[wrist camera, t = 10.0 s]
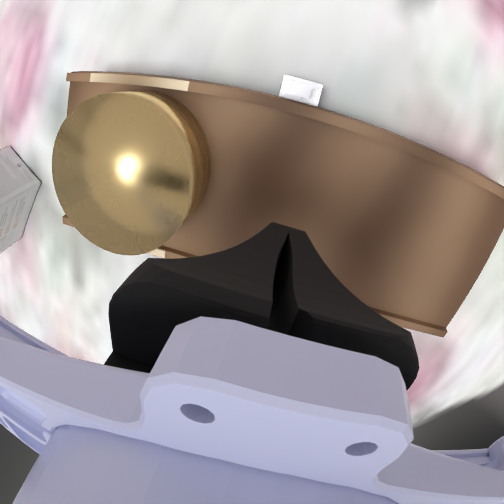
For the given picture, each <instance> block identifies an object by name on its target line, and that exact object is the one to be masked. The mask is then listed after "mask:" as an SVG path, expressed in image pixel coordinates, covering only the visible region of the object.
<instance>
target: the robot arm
mask: <svg viewBox="0 0 504 504" xmlns="http://www.w3.org/2000/svg"><path fill="white" fill-rule="evenodd" d="M109 323H110V332H111V340H112V348H113V352H112V353H111V355H110V356H109V358H108V359H107V361H106V362H105V364H104V365H102V364H98V363H93V362H89V361H85V360H80V359H76V358H72V357H69V356H67V355H65V354H63V353H61V352H60V351H58V350H56V349H54V348H52V347H51V346H49V345H47V344H45V343H43V342H42V341H40V340H38V339H37V338H35V337H33V336H32V335H30V334H28V333H27V332H25V331H23V330H22V329H20V328H18V327H17V326H15V325H14V324H12V323H11V322H9V321H8V320H6V319H5V318H3V317H2V316H0V423H1V424H2V425H3V426H4V427H5V428H7V429H8V430H9V431H10V432H11V433H13V434H14V435H15V436H16V437H17V438H19V439H20V440H21V441H23V442H24V443H25V444H27V445H28V446H29V447H30V448H32V449H33V450H34V451H36V452H37V453H39V454H40V456H39V457H38V459H37V461H36V462H35V464H34V466H33V468H32V469H31V471H30V473H29V475H28V477H27V478H26V480H25V482H24V484H23V485H22V487H21V489H20V491H19V493H18V495H17V496H16V498H15V500H14V502H13V504H504V436H503V437H501V438H500V439H498V440H497V441H496V442H494V443H493V444H492V445H491V446H490V447H489V448H488V449H475V450H446V451H445V450H443V451H442V450H440V451H438V450H435V451H433V450H428V449H425V448H422V447H419V446H416V445H414V444H411V442H412V440H413V438H414V437H413V429H412V422H411V415H410V409H409V403H408V397H407V390H408V389H409V388H410V386H411V385H412V383H413V382H414V380H415V379H416V377H417V373H418V370H419V362H418V356H417V352H416V349H415V345H414V342H413V338H412V335H411V332H409V331H407V330H405V329H403V328H402V327H400V326H398V325H396V324H395V323H393V322H391V321H389V320H387V319H386V318H384V317H383V316H381V315H380V314H378V313H377V312H375V311H374V310H372V309H371V308H370V307H368V306H367V305H366V304H364V303H363V302H362V301H361V300H359V299H358V298H357V297H356V296H355V295H354V294H352V293H351V292H350V291H349V290H348V289H347V288H346V287H345V286H344V285H343V284H342V283H341V282H340V281H339V280H338V279H337V278H336V277H335V275H334V274H333V273H332V272H331V271H330V269H329V268H328V267H327V265H326V264H325V263H324V261H323V260H322V258H321V257H320V255H319V254H318V252H317V251H316V249H315V247H314V246H313V244H312V242H311V241H310V239H309V237H308V235H307V234H306V232H305V231H302V230H299V229H295V228H292V227H288V226H285V225H282V224H278V223H275V222H272V223H270V224H268V225H267V226H266V227H265V228H264V229H263V230H261V231H260V232H259V233H257V234H256V235H254V236H253V237H251V238H250V239H248V240H246V241H244V242H242V243H241V244H239V245H237V246H235V247H232V248H229V249H227V250H224V251H220V252H216V253H212V254H208V255H204V256H197V257H189V258H175V259H168V258H148V259H147V260H145V261H144V262H143V263H142V264H141V265H140V266H139V267H138V268H136V269H135V270H134V271H133V273H132V274H131V275H130V276H129V277H128V278H127V279H126V280H125V281H124V283H123V284H122V285H121V286H120V287H119V288H118V289H117V291H116V292H115V293H114V294H113V296H112V299H111V301H110V303H109Z"/></svg>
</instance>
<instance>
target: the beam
mask: <svg viewBox="0 0 504 504" xmlns="http://www.w3.org/2000/svg"><path fill="white" fill-rule="evenodd" d="M66 81H70V89H69V98H68V109H67V116H68V115H69V114H70V113H71V112H72V110H73V109H75V108H76V107H77V106H78V105H79V104H81V103H82V102H84V101H85V100H87V99H89V98H92V97H94V96H97V95H101V94H106V93H115V92H125V91H136V90H150V91H157V92H160V93H164V94H166V95H168V96H171V97H173V98H174V99H176V100H177V101H179V102H180V103H182V104H183V105H184V106H185V107H186V108H187V109H189V111H190V112H191V113H192V114H193V115H194V116H195V118H196V119H197V121H198V122H199V124H200V125H201V127H202V129H203V132H204V134H205V136H206V139H207V142H208V145H209V150H210V156H211V175H210V180H209V185H208V188H207V191H206V194H205V196H204V198H203V200H202V202H201V204H200V205H199V207H198V208H197V209H196V210H195V212H194V213H193V214H192V215H191V216H190V217H189V218H188V219H187V220H186V221H185V222H184V223H183V225H182V226H181V227H180V228H179V229H178V230H177V231H176V232H175V233H174V234H173V235H172V237H171V238H170V239H169V240H168V241H167V242H165V243H164V244H163V245H162V246H160V247H158V248H157V249H155V250H153V251H150V252H148V253H149V254H152V255H155V256H158V257H161V258H168V259H175V258H189V257H197V256H204V255H208V254H212V253H216V252H220V251H224V250H227V249H229V248H232V247H235V246H237V245H239V244H241V243H242V242H244V241H246V240H248V239H250V238H251V237H253V236H254V235H256V234H257V233H259V232H260V231H261V230H263V229H264V228H265V227H266V226H267V225H268V224H270V223H272V222H275V223H278V224H282V225H285V226H288V227H292V228H295V229H299V230H302V231H305V232H306V234H307V235H308V237H309V239H310V241H311V242H312V244H313V246H314V247H315V249H316V251H317V252H318V254H319V255H320V257H321V258H322V260H323V261H324V263H325V264H326V265H327V267H328V268H329V269H330V271H331V272H332V273H333V274H334V275H335V277H336V278H337V279H338V280H339V281H340V282H341V283H342V284H343V285H344V286H345V287H346V288H347V289H348V290H349V291H350V292H351V293H352V294H354V295H355V296H356V297H357V298H358V299H359V300H361V301H362V302H363V303H364V304H366V305H367V306H368V307H370V308H371V309H372V310H374V311H375V312H377V313H378V314H380V315H381V316H383V317H384V318H386V319H387V320H389V321H391V322H393V323H395V324H396V325H398V326H400V327H404V328H408V329H412V330H416V331H420V332H424V333H428V334H432V335H436V336H440V337H444V336H445V334H446V333H447V329H446V327H447V325H448V324H449V322H450V321H451V319H452V318H453V317H454V315H455V313H456V312H457V310H458V309H459V307H460V306H461V304H462V303H463V301H464V300H465V298H466V296H467V295H468V293H469V291H470V290H471V288H472V286H473V285H474V283H475V281H476V280H477V278H478V276H479V275H480V273H481V271H482V269H483V267H484V266H485V264H486V262H487V260H488V258H489V256H490V254H491V253H492V251H493V249H494V247H495V245H496V243H497V241H498V239H499V237H500V235H501V233H502V231H503V228H504V186H502V185H500V184H498V183H497V182H495V181H493V180H491V179H490V178H488V177H486V176H484V175H482V174H481V173H479V172H477V171H475V170H473V169H471V168H469V167H467V166H465V165H463V164H461V163H460V162H458V161H455V160H453V159H451V158H449V157H447V156H445V155H443V154H441V153H439V152H437V151H435V150H432V149H430V148H428V147H426V146H423V145H421V144H419V143H417V142H414V141H412V140H409V139H407V138H405V137H402V136H400V135H397V134H395V133H392V132H390V131H387V130H385V129H382V128H379V127H377V126H374V125H371V124H368V123H366V122H363V121H360V120H357V119H354V118H351V117H348V116H345V115H342V114H339V113H336V112H333V111H330V110H326V109H323V108H320V107H316V106H313V105H309V104H306V103H302V102H298V101H295V100H291V99H287V98H283V97H279V96H275V95H271V94H267V93H262V92H258V91H253V90H249V89H244V88H239V87H234V86H228V85H223V84H217V83H211V82H205V81H199V80H192V79H185V78H177V77H169V76H159V75H149V74H137V73H122V72H98V71H79V72H72V73H67V78H66ZM63 223H64V224H67V225H69V226H72V227H75V226H74V225H73V224H72V223H71V221H70V220H69V218H68V217H67V215H64V216H63Z"/></svg>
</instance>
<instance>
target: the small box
mask: <svg viewBox="0 0 504 504" xmlns="http://www.w3.org/2000/svg"><path fill="white" fill-rule="evenodd" d="M40 184H41V182H40V181H39V180H38V179H37V177H36V176H35V175H34V174H33V173H32V172H31V171H30V170H29V168H28V167H27V166H26V165H25V164H24V163H23V161H22V160H21V159H20V158H19V157H18V156H17V154H16V153H15V152H14V151H13V150H12V148H11V147H10V146H7V147H5V148H2V149H0V253H2V252H3V251H4V250H6V249H7V248H8V247H10V246H11V245H12V244H14V243H15V242H16V241H18V240H19V239H20V238H21V237H22V234H23V231H24V228H25V225H26V222H27V219H28V216H29V213H30V210H31V207H32V205H33V202H34V199H35V196H36V194H37V191H38V189H39V186H40Z"/></svg>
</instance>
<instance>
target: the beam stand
mask: <svg viewBox="0 0 504 504" xmlns="http://www.w3.org/2000/svg"><path fill="white" fill-rule="evenodd" d="M322 88H323V85H322V84H319V83H315V82H312V81H308V80H305V79H301V78H297V77H293V76H289V75H285V74H284V77H283V81H282V85H281V89H280V93H279V97H283V98H287V99H291V100H295V101H298V102H302V103H306V104H309V105H313V106H316V107H318V103H319V99H320V96H321V92H322Z"/></svg>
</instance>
